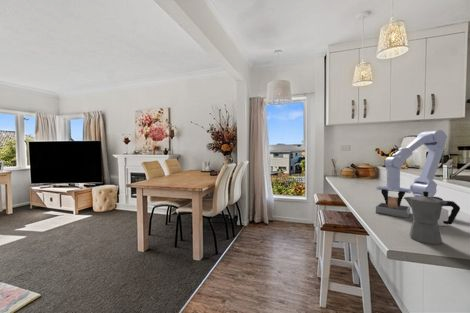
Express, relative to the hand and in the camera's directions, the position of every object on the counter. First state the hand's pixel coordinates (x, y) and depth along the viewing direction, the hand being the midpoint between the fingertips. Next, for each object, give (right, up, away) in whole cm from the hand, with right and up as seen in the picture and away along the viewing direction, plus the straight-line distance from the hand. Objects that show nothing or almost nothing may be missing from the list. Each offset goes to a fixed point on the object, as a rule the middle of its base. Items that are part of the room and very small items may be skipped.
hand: (392, 204), depth 113 cm
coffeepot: (-13, -5, -35) cm, 37 cm away
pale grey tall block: (+7, -5, -16) cm, 18 cm away
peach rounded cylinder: (0, -2, 0) cm, 2 cm away
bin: (0, -4, 0) cm, 4 cm away
